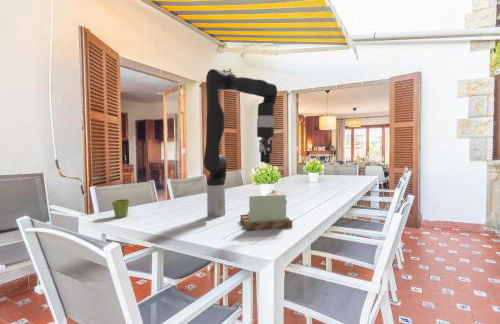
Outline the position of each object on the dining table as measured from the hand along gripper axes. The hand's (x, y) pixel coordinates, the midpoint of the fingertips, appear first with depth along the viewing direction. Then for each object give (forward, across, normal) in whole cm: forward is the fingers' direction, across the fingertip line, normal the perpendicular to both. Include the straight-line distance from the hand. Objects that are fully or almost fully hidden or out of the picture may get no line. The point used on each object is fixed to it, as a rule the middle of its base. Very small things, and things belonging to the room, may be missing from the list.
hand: (265, 162), depth 135 cm
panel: (+28, +6, 0) cm, 29 cm away
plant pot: (+32, -38, -70) cm, 86 cm away
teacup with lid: (+30, -33, +15) cm, 47 cm away
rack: (+29, 0, 0) cm, 29 cm away
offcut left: (+28, 0, -5) cm, 28 cm away
